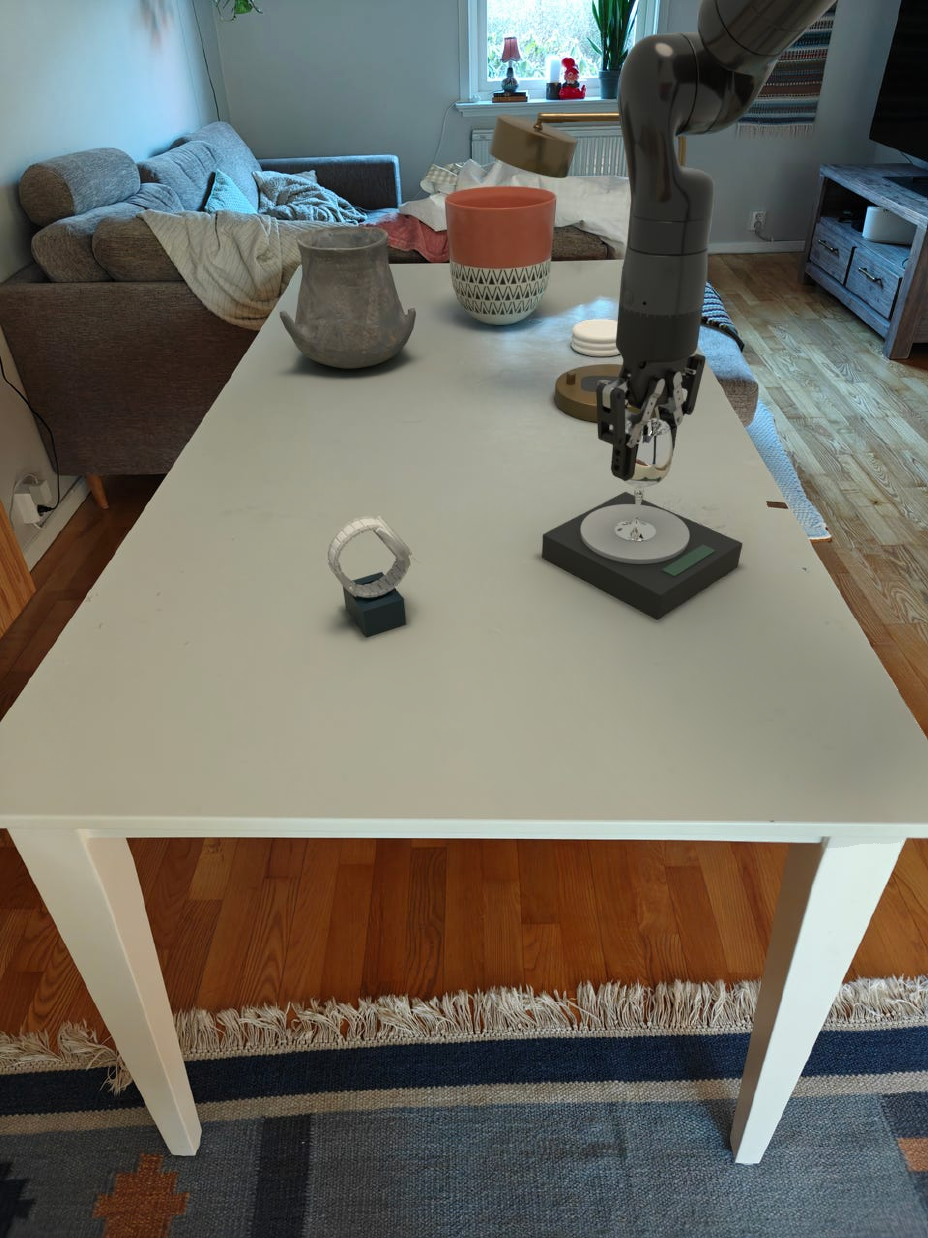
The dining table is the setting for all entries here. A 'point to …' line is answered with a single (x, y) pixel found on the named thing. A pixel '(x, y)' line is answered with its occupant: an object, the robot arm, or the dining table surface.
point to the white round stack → (595, 337)
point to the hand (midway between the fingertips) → (642, 466)
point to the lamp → (552, 157)
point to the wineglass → (647, 473)
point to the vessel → (348, 299)
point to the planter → (500, 249)
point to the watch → (372, 578)
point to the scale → (642, 554)
